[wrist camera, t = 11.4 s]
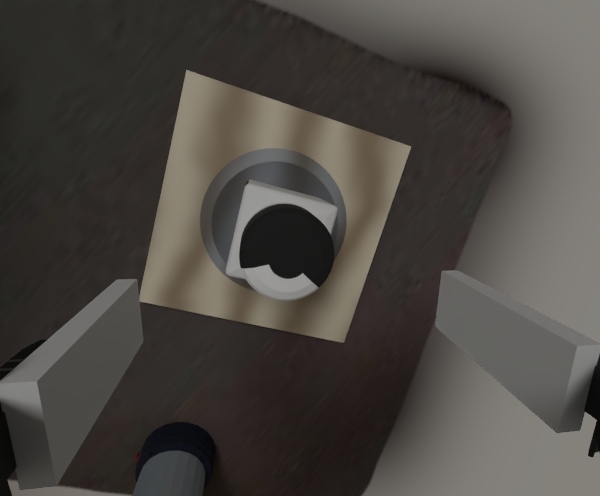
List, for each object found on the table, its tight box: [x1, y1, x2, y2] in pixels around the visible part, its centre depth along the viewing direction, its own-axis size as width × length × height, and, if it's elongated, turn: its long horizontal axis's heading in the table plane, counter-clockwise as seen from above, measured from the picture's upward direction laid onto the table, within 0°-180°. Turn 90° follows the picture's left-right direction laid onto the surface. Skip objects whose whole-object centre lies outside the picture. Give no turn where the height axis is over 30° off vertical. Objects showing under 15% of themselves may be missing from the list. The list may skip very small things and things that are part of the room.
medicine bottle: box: [225, 180, 338, 301], centre depth 26 cm, size 7×7×12 cm
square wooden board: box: [139, 70, 411, 343], centre depth 33 cm, size 22×22×2 cm
